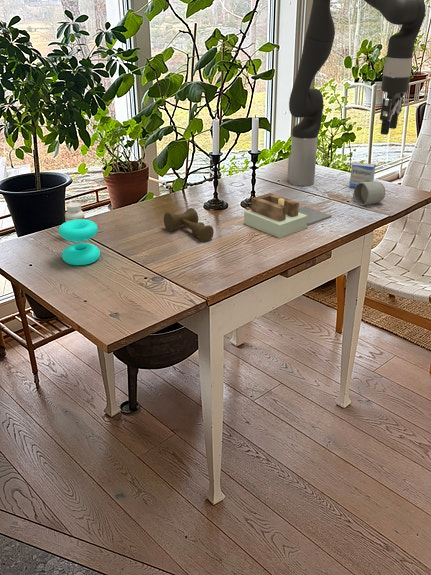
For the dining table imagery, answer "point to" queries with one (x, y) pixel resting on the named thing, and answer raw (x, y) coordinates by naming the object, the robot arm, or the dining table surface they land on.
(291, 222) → the stand
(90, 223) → the donuts
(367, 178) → the medicine box
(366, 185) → the ceramic mug
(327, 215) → the coaster
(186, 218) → the brown dog bone
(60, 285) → the dining table surface
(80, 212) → the supplement bottle
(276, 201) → the c link
